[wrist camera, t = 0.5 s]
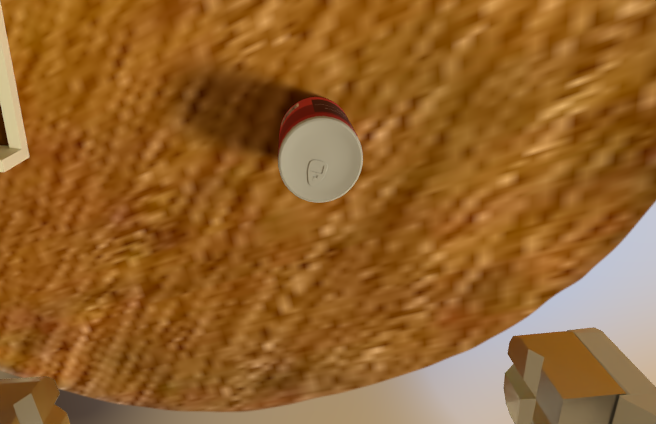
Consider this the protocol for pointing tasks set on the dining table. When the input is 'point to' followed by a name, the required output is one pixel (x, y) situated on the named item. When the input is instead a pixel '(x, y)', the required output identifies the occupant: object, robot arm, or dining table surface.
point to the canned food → (318, 150)
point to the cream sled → (10, 108)
